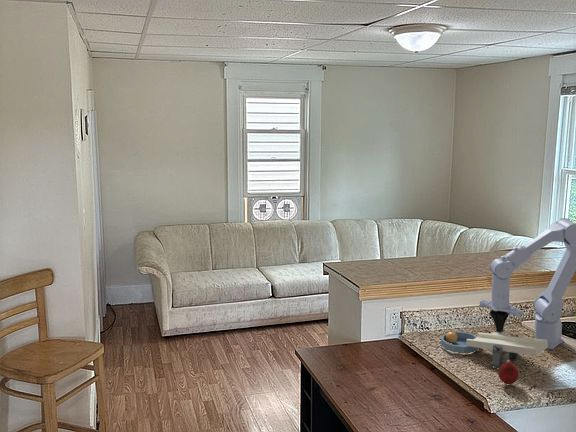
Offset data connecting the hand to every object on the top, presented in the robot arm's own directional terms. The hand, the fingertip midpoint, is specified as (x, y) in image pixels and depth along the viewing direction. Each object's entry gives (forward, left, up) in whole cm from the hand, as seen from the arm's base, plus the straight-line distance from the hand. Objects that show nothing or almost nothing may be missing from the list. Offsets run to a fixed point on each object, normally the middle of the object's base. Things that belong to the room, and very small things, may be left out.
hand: (499, 330), depth 199 cm
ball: (+10, -12, -3) cm, 17 cm away
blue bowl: (+10, -9, -5) cm, 15 cm away
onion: (+23, +16, -6) cm, 29 cm away
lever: (+6, +8, 0) cm, 10 cm away
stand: (+10, +8, -5) cm, 14 cm away
